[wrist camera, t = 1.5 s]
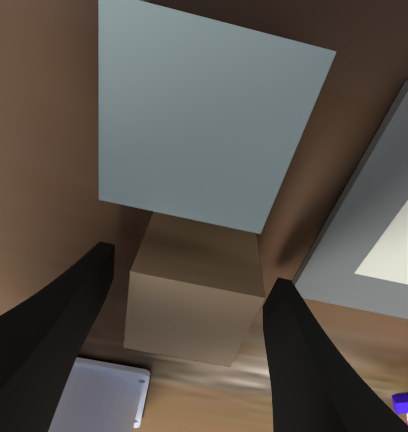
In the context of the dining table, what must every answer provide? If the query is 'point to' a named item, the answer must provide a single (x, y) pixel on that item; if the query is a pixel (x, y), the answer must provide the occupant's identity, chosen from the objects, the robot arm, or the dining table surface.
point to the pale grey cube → (199, 112)
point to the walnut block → (193, 290)
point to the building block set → (400, 404)
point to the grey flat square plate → (367, 229)
